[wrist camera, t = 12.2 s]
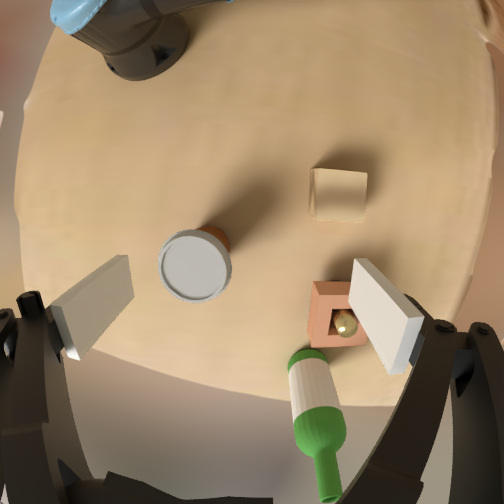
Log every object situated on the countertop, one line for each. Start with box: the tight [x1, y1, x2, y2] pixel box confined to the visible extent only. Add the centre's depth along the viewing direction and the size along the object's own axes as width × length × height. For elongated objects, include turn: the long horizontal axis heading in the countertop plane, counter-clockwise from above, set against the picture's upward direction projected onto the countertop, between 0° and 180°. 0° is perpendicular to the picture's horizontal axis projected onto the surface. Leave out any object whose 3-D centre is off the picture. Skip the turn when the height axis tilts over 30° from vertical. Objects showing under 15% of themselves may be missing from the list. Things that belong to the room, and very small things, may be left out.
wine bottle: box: [288, 349, 346, 503], centre depth 35 cm, size 8×8×30 cm
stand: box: [309, 168, 367, 223], centre depth 37 cm, size 7×7×6 cm
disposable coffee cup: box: [158, 226, 232, 303], centre depth 38 cm, size 10×10×12 cm
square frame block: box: [307, 281, 368, 347], centre depth 40 cm, size 9×9×5 cm
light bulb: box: [329, 280, 358, 338], centre depth 40 cm, size 7×7×10 cm
